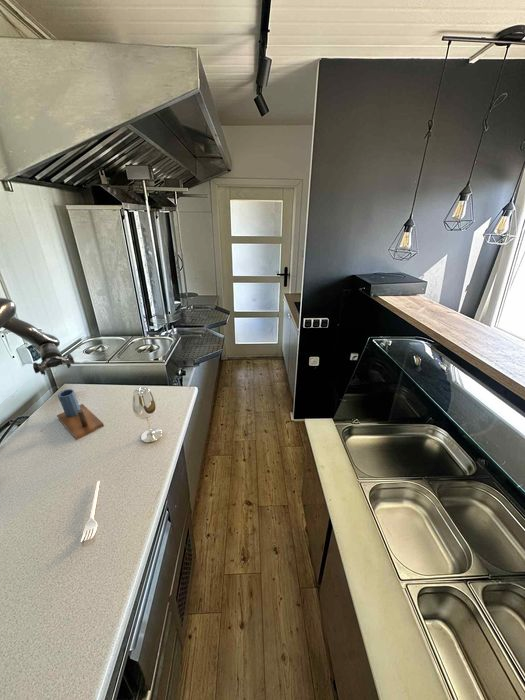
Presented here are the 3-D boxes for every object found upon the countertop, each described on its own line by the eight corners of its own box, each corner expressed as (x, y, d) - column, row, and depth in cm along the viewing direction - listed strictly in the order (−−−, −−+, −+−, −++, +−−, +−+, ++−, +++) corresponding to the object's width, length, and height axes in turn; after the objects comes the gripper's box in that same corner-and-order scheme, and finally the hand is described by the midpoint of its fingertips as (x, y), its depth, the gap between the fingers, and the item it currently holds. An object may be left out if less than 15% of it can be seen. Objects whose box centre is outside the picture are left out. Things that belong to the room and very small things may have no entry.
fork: (104, 480, 90) (103, 476, 89) (94, 542, 73) (92, 538, 73) (93, 483, 89) (91, 479, 88) (80, 547, 72) (78, 542, 72)
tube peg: (77, 416, 117) (69, 396, 112) (63, 417, 116) (55, 397, 112) (83, 408, 121) (76, 388, 117) (70, 409, 121) (62, 389, 117)
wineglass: (137, 435, 108) (125, 391, 100) (157, 425, 113) (147, 382, 104) (145, 446, 103) (133, 401, 94) (166, 435, 108) (156, 391, 99)
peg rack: (76, 439, 107) (69, 422, 103) (57, 418, 118) (50, 401, 115) (103, 425, 114) (98, 408, 110) (83, 406, 125) (77, 390, 121)
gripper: (28, 353, 124) (32, 366, 112) (66, 344, 132) (73, 356, 121) (35, 368, 127) (38, 383, 116) (71, 358, 135) (78, 371, 124)
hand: (56, 369), depth 118 cm, fingers open, 8 cm apart
